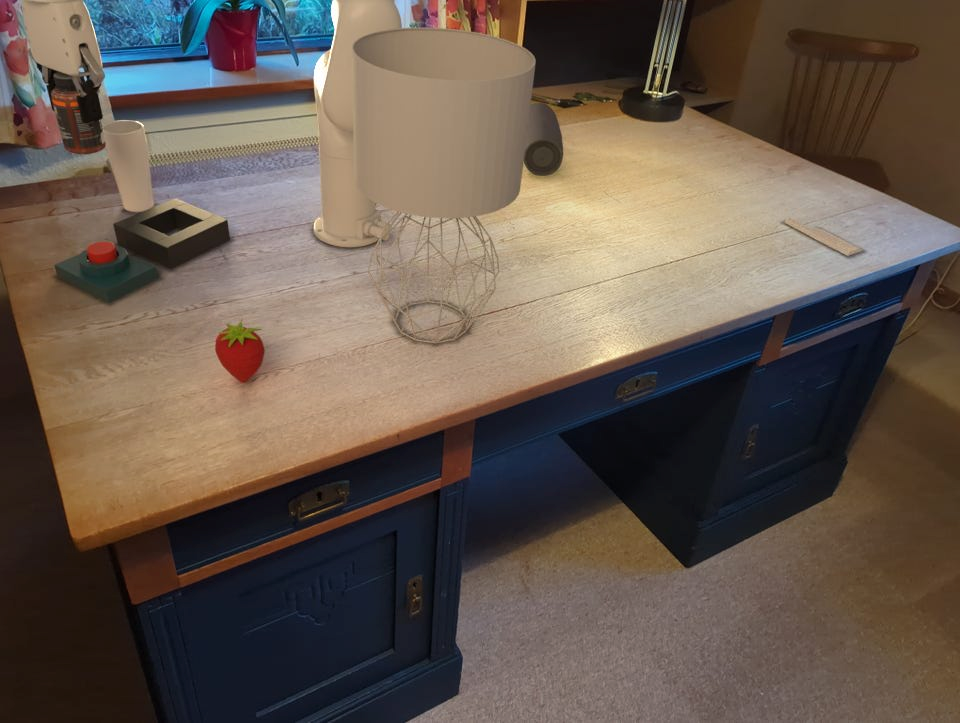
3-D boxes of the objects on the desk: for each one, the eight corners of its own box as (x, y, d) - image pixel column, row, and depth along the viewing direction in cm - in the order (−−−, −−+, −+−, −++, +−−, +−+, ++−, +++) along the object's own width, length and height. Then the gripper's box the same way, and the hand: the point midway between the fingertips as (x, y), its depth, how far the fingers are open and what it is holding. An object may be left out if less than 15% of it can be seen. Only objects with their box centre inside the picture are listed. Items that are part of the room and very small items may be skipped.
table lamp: (383, 379, 105) (384, 85, 81) (340, 295, 121) (330, 29, 97) (527, 350, 113) (568, 76, 89) (469, 275, 129) (490, 25, 105)
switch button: (123, 256, 118) (120, 246, 117) (100, 267, 115) (98, 257, 114) (105, 248, 119) (103, 238, 118) (83, 258, 117) (80, 248, 116)
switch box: (158, 278, 120) (153, 256, 118) (109, 303, 114) (103, 280, 112) (107, 254, 125) (102, 233, 122) (57, 277, 118) (50, 254, 116)
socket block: (230, 240, 132) (227, 219, 129) (171, 269, 123) (167, 247, 120) (178, 218, 137) (174, 197, 134) (117, 245, 128) (112, 223, 125)
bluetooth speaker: (561, 183, 162) (568, 138, 156) (518, 180, 162) (523, 134, 156) (555, 144, 180) (561, 101, 174) (516, 140, 180) (520, 98, 174)
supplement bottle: (115, 146, 120) (100, 72, 113) (88, 159, 115) (70, 83, 108) (83, 138, 121) (66, 65, 114) (55, 150, 116) (36, 75, 109)
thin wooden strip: (800, 218, 158) (802, 213, 157) (862, 251, 148) (864, 246, 147) (784, 222, 155) (786, 217, 155) (846, 256, 146) (849, 251, 145)
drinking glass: (146, 218, 136) (129, 136, 127) (111, 211, 137) (92, 130, 127) (166, 202, 141) (151, 123, 132) (132, 196, 142) (115, 117, 133)
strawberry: (253, 359, 106) (245, 298, 100) (277, 388, 101) (270, 327, 95) (211, 373, 103) (201, 311, 97) (234, 403, 98) (225, 341, 92)
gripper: (113, -7, 104) (137, 123, 114) (33, -30, 110) (63, 95, 121) (64, 1, 98) (94, 136, 109) (-18, -24, 105) (18, 107, 115)
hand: (77, 114), depth 115 cm, fingers closed on supplement bottle, 6 cm apart
